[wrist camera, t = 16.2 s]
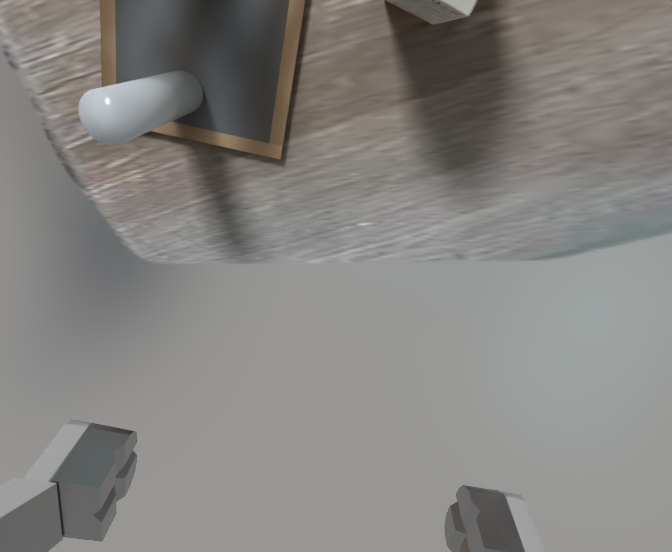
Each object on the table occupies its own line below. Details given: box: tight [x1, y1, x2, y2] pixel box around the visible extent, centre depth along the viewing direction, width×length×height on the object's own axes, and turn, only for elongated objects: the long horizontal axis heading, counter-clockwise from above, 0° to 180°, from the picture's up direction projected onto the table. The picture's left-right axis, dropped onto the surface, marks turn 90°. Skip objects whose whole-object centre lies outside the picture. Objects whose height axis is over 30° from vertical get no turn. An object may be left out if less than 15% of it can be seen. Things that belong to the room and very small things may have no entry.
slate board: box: [100, 0, 306, 159], centre depth 37 cm, size 16×17×1 cm
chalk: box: [79, 70, 203, 146], centre depth 33 cm, size 3×3×12 cm
